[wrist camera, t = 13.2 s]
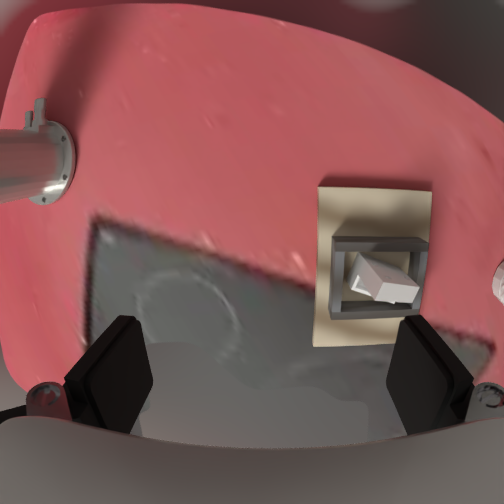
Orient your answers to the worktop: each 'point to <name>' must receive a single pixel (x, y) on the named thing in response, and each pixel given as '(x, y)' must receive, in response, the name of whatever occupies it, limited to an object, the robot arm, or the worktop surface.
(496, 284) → the white cup
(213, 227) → the worktop surface
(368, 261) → the white wedge bracket
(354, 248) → the board
